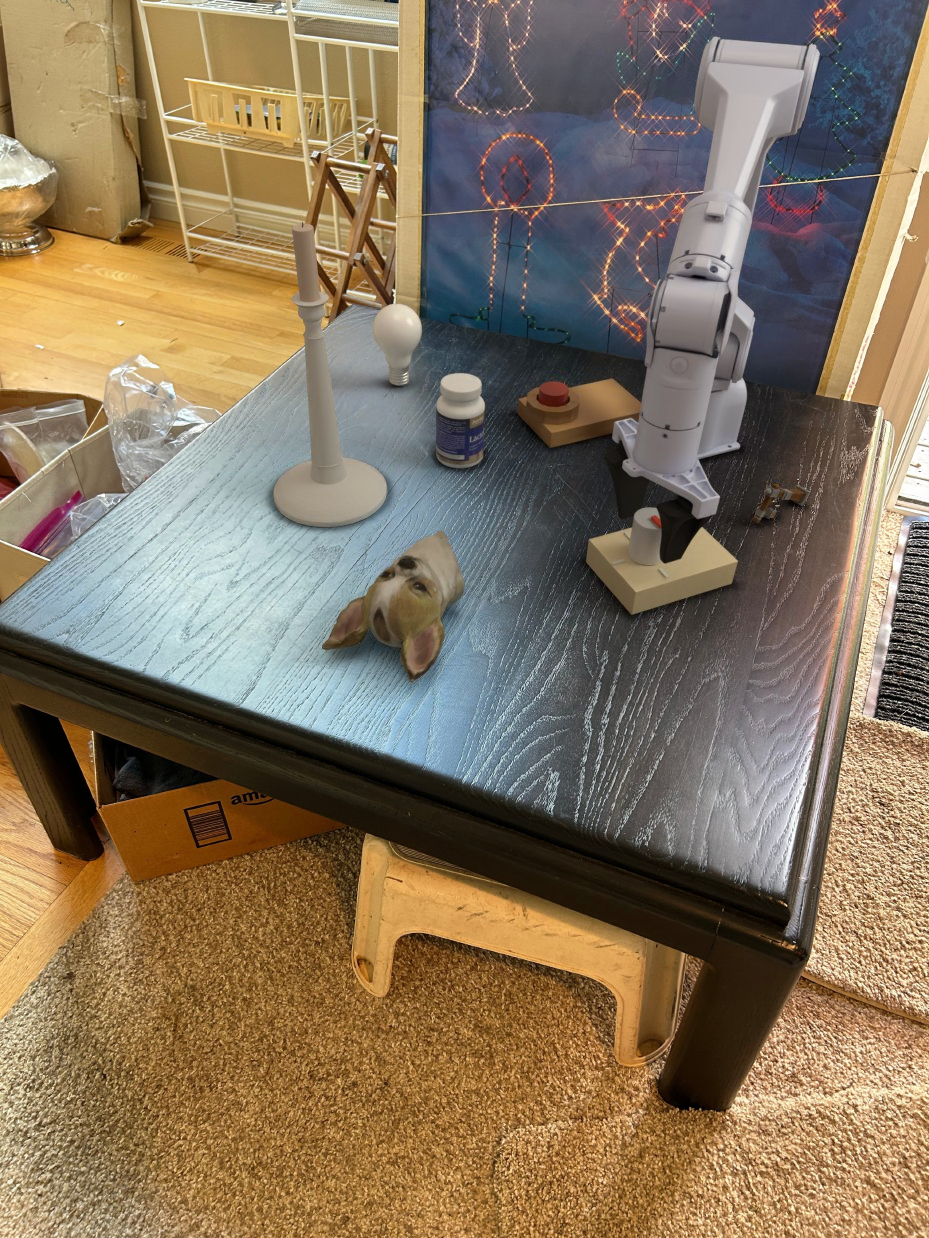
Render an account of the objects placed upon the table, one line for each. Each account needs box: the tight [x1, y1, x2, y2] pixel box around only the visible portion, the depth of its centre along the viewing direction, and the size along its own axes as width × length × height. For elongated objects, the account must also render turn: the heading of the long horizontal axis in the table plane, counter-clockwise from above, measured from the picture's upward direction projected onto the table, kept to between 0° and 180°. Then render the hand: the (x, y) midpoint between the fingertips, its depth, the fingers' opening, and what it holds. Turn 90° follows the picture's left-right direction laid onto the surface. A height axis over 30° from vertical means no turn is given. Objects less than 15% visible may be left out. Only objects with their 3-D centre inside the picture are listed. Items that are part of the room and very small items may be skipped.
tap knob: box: [628, 506, 661, 566], centre depth 89 cm, size 4×4×5 cm
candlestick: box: [272, 221, 388, 528], centre depth 93 cm, size 13×13×30 cm
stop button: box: [539, 380, 570, 407], centre depth 111 cm, size 4×4×2 cm
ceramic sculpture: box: [321, 529, 466, 683], centre depth 83 cm, size 11×9×15 cm
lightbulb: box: [372, 303, 423, 387], centre depth 118 cm, size 6×6×11 cm
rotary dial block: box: [585, 526, 739, 616], centre depth 92 cm, size 12×9×3 cm
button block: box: [517, 378, 642, 449], centre depth 114 cm, size 15×9×4 cm, turn 114°
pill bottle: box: [435, 372, 486, 469], centre depth 105 cm, size 6×6×10 cm
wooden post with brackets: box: [752, 483, 811, 524], centre depth 100 cm, size 2×8×4 cm, turn 127°
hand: (649, 537), depth 89 cm, fingers open, 7 cm apart
